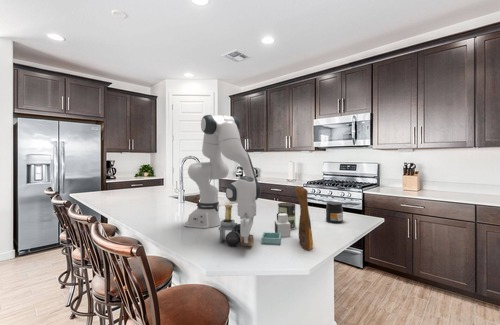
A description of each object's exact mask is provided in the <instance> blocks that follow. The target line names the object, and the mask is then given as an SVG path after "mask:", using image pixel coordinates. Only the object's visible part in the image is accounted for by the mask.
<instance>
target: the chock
mask: <svg viewBox="0 0 500 325" xmlns="http://www.w3.org/2000/svg"><path fill="white" fill-rule="evenodd" d="M253 244H254V234H250V235H249V236H248V243H244V237H241V240H240V246H245V247H246V246H247V247H252V246H253Z"/></svg>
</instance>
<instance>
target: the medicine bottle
mask: <svg viewBox="0 0 500 325" xmlns="http://www.w3.org/2000/svg"><path fill="white" fill-rule="evenodd" d="M274 233H281V238H289V237H291V230H290V223H289V222H288V214H287V213H285V212H280V213H278V212H277V213H276V220H274Z"/></svg>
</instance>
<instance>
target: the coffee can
mask: <svg viewBox="0 0 500 325" xmlns="http://www.w3.org/2000/svg"><path fill="white" fill-rule="evenodd" d="M277 208H278V209H277V213H280V212H285V213H287V214H288V222H289V223H290V231H292V230H293V231H294V230H296V203H293V202H280V203H278V204H277Z"/></svg>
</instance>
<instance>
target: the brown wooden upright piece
mask: <svg viewBox="0 0 500 325" xmlns="http://www.w3.org/2000/svg"><path fill="white" fill-rule="evenodd" d="M294 190H295V193H296V195H297V196H296V197H297V200H298V203H299V209H300V211H299V212H300V213H299V214H300V215H299V221H298V222H299V223H298V240H299V243H300V246H301V248H302V249H303V250H305V251H311V250H312V249H313V248H314V240H313V232H312V223H311V216H310V212H309V204H308V201H309V199H308V192H309V191H308V189H306V188H304V187H301V186H298V185H296V186H295V187H294Z"/></svg>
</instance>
